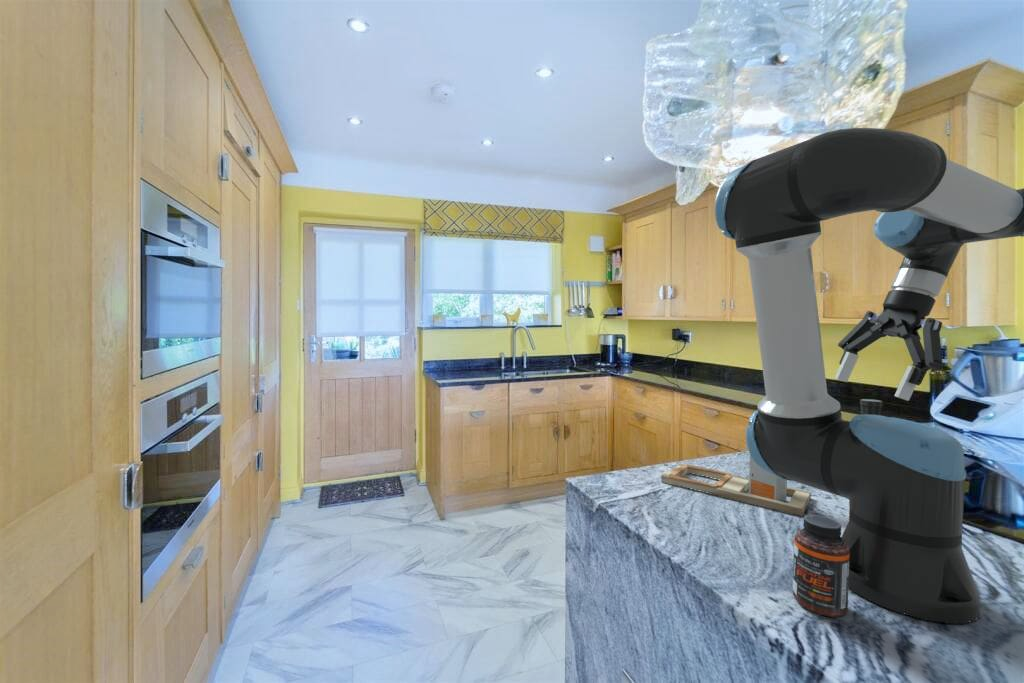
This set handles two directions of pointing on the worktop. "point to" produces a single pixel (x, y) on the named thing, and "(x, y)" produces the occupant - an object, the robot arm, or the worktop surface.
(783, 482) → the skincare box
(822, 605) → the supplement bottle
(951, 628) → the worktop surface
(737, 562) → the worktop surface
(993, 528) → the worktop surface
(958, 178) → the robot arm
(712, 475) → the socket rail
